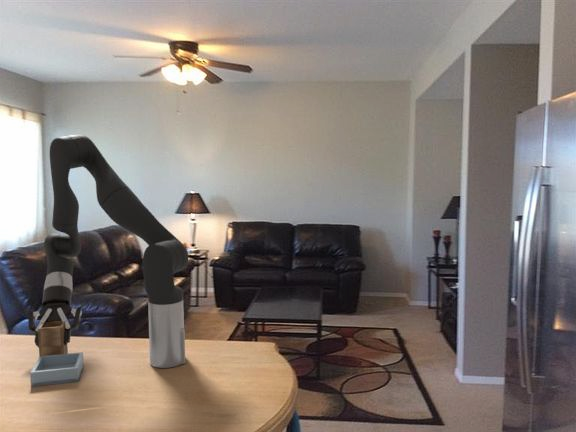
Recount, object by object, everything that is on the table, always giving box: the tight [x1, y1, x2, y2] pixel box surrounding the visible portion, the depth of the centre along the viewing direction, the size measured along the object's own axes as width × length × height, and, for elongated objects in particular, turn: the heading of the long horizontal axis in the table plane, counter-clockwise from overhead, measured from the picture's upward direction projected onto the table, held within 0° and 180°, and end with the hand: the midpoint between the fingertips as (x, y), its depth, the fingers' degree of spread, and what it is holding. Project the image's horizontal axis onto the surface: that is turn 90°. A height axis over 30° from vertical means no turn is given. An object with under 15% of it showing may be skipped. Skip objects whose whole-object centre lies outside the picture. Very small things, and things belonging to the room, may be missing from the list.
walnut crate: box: [38, 321, 69, 358], centre depth 135 cm, size 6×6×10 cm
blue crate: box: [29, 351, 85, 388], centre depth 125 cm, size 11×11×4 cm
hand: (52, 344), depth 133 cm, fingers closed on walnut crate, 6 cm apart
